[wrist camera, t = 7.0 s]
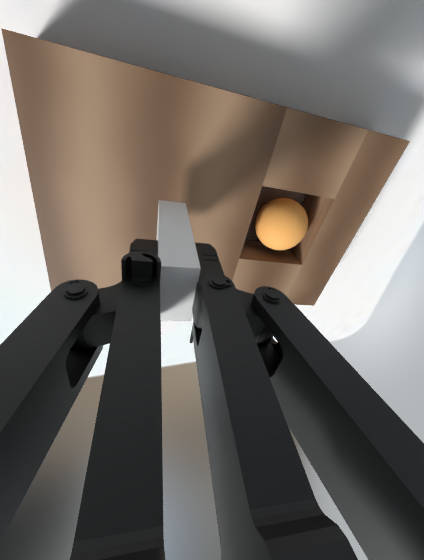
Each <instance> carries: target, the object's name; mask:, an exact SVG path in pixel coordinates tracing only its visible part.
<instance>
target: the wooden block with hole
mask: <svg viewBox="0 0 424 560" xmlns="http://www.w3.org/2000/svg"><path fill="white" fill-rule="evenodd" d="M1 29H2V28H1ZM2 34H3V39H4V44H5V50H6V55H7V60H8V66H9V71H10V76H11V81H12V87H13V92H14V97H15V102H16V108H17V113H18V118H19V124H20V129H21V134H22V139H23V145H24V150H25V155H26V161H27V166H28V171H29V176H30V182H31V187H32V192H33V197H34V203H35V208H36V213H37V219H38V224H39V229H40V234H41V240H42V245H43V250H44V255H45V261H46V266H47V271H48V277H49V282H50V287H51V292H52V291H53V289H54V288H56V287H57V286H58V285H60V284H61V283H64V282H66V281H70V280H76V279H80V280H88V281H91V282H93V283H94V284H96V285H97V287H98V289H99V288H105V287H109V286H113V285H115V284H118V283H119V282H121V281H122V269H121V259H122V258H123V256H125V255H126V254H128V253H129V251H130V245H131V243H132V242H133V241H134V240H135V239H148V240H156V238H157V221H158V204H159V200H162V201H171V202H179V203H186V207H187V211H188V216H189V220H190V224H191V229H192V233H193V237H194V242H195V243H207V244H211V245H212V246H213V247H214V248H215V249H216V252H217V255H218V258H219V261H220V263H221V266H222V269H223V272H224V275H225V276H226V277H228V278H229V279H231V280H232V281H233V283H234V285H235V287H236V289H238V290H241V291H244V292H248V293H252V294H254V292H255V290H256V289H257V288H259V287H262V286H269V287H273V288H276V289H278V290H280V291H281V292H282V293H284V294H285V295H286V296H287V297H288V298H289V299H290V301H291V302H292V303H293V304H297V305H314V304H315V303H316V301H317V299H318V297H319V296H320V294H321V292H322V291H323V289H324V287H325V285H326V284H327V282H328V280H329V279H330V277H331V275H332V274H333V272H334V270H335V268H336V267H337V265H338V263H339V262H340V260H341V258H342V256H343V255H344V253H345V251H346V250H347V248H348V246H349V244H350V243H351V241H352V239H353V238H354V236H355V234H356V232H357V231H358V229H359V227H360V226H361V224H362V222H363V220H364V219H365V217H366V215H367V214H368V212H369V210H370V208H371V207H372V205H373V203H374V202H375V200H376V198H377V197H378V195H379V193H380V191H381V190H382V188H383V186H384V185H385V183H386V181H387V179H388V178H389V176H390V174H391V173H392V171H393V169H394V167H395V166H396V164H397V162H398V161H399V159H400V157H401V155H402V154H403V152H404V150H405V149H406V147H407V145H408V143H409V142H410V141H407V140H403V139H400V138H396V137H393V136H389V135H385V134H382V133H378V132H374V131H371V130H367V129H364V128H360V127H356V126H353V125H349V124H346V123H342V122H338V121H335V120H331V119H327V118H324V117H320V116H317V115H313V114H309V113H306V112H302V111H298V110H295V109H291V108H288V107H284V106H280V105H277V104H273V103H269V102H266V101H262V100H259V99H255V98H251V97H248V96H244V95H241V94H237V93H233V92H230V91H226V90H222V89H219V88H215V87H212V86H208V85H204V84H201V83H197V82H193V81H190V80H186V79H183V78H179V77H175V76H172V75H168V74H164V73H161V72H157V71H154V70H150V69H146V68H143V67H139V66H135V65H132V64H128V63H125V62H121V61H117V60H114V59H110V58H107V57H103V56H99V55H96V54H92V53H88V52H85V51H81V50H78V49H74V48H70V47H67V46H63V45H59V44H56V43H52V42H49V41H45V40H41V39H38V38H34V37H30V36H27V35H23V34H20V33H16V32H12V31H9V30H5V29H2ZM262 186H265V187H271V188H276V189H282V190H287V191H293V192H298V193H304V194H306V197H305V199H304V201H303V204H302V207H303V208H304V210H305V211H306V214H307V217H308V228H307V232H306V234H305V236H304V238H303V239H302V240H301V241H300V242H299V243H298V244H297V245H296V246H294V247H292V248H289V249H286V250H274V249H271V248H269V247H267V246H265V245H264V244H263V243H262V242H261V241H255V240H247V239H246V236H247V233H248V230H249V226H250V223H251V220H252V217H253V214H254V211H255V208H256V204H257V201H258V198H259V195H260V192H261V189H262Z"/></svg>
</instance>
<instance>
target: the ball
mask: <svg viewBox="0 0 424 560" xmlns="http://www.w3.org/2000/svg"><path fill="white" fill-rule="evenodd" d="M307 228H308V217H307V214H306V211H305V210H304V208H303V207H302V205H300V204H299V203H298V202H297V201H295V200H293V199H289V198H277V199H273V200H271V201H269V202H268V203H266V204H265V205H264V206H263V207H262V208H261V209H260V211H259V212H258V214H257V217H256V221H255V230H256V234H257V236H258V238H259V240H260V241H261V242H262V243H263V244H264V245H265V246H267V247H269V248H271V249H274V250H286V249H289V248H292V247H294V246H296V245H297V244H298V243H299V242H300V241H301V240H302V239H303V238H304V236H305V234H306V232H307Z"/></svg>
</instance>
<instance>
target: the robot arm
mask: <svg viewBox="0 0 424 560" xmlns="http://www.w3.org/2000/svg"><path fill="white" fill-rule="evenodd" d="M121 269H122V281H121V282H119V283H118V284H115V285H113V286H109V287H105V288H99V289H98V287H97V285H96V284H94V283H93V282H91V281H88V280H80V279H76V280H70V281H66V282H64V283H61V284H60V285H58V286H57V287H56V288H54V289H53V291H52V292H51V293H50V294H49V295H48V296H47V297H46V298H45V299H44V300H43V301H42V302H41V303H40V304H39V305H38V306H37V307H36V308H35V309H34V310H33V311H32V312H31V313H30V315H29V316H28V317H27V318H26V319H25V320H24V321H23V322H22V323H21V324H20V325H19V326H18V327H17V328H16V329H15V330H14V331H13V332H12V333H11V334H10V335H9V336H8V338H7V339H6V340H5V341H4V342H3V343H2V344H1V345H0V541H1V539H2V538H3V536H4V534H5V532H6V530H7V528H8V526H9V524H10V522H11V520H12V518H13V517H14V515H15V513H16V511H17V509H18V507H19V505H20V504H21V502H22V500H23V498H24V496H25V494H26V492H27V490H28V488H29V486H30V485H31V483H32V481H33V479H34V477H35V475H36V473H37V471H38V470H39V468H40V466H41V464H42V462H43V460H44V458H45V456H46V454H47V453H48V451H49V449H50V447H51V445H52V443H53V441H54V439H55V437H56V436H57V434H58V432H59V430H60V428H61V426H62V424H63V422H64V420H65V418H66V417H67V415H68V413H69V411H70V409H71V407H72V405H73V403H74V402H75V400H76V398H77V396H78V394H79V392H80V390H81V388H82V386H83V385H84V383H85V381H86V379H87V377H88V375H89V373H90V371H91V369H92V367H93V366H94V364H95V362H96V360H97V358H98V356H99V354H100V352H101V350H102V349H103V345H105V344H109V343H110V347H109V352H108V358H107V363H106V369H105V374H104V381H103V385H102V391H101V396H100V402H99V407H98V412H97V418H96V423H95V429H94V435H93V440H92V446H91V451H90V456H89V462H88V467H87V473H86V478H85V483H84V489H83V494H82V500H81V505H80V511H79V517H78V522H77V527H76V532H75V538H74V543H73V548H72V553H71V557H70V560H165V552H164V539H163V485H162V484H163V482H162V481H163V480H162V479H163V477H162V402H161V399H162V398H161V321H191V318H192V313H193V319H194V322H193V327H192V332H191V337H190V343H192V342H193V341H194V349H195V356H196V364H197V371H198V379H199V386H200V394H201V401H202V409H203V416H204V424H205V431H206V438H207V446H208V454H209V461H210V469H211V476H212V484H213V491H214V498H215V505H216V514H217V521H218V529H219V536H220V545H221V560H358V559H357V557H356V555H355V553H354V551H353V549H352V547H351V545H350V543H349V541H348V539H347V537H346V536H345V535H344V533H343V532H342V531H341V529H340V528H339V526H338V525H337V524H336V523H334V522H333V521H332V520H331V519H329V518H328V517H327V516H326V515H325V514H324V513H323V512H322V510H321V509H320V507H319V505H318V503H317V501H316V499H315V497H314V494H313V491H312V489H311V486H310V483H309V481H308V478H307V475H306V473H305V470H304V468H303V465H302V462H301V460H300V457H299V454H298V451H297V449H296V446H295V444H294V441H293V438H292V436H291V433H290V430H291V431H292V433H293V435H294V436H295V438H296V440H297V441H298V443H299V445H300V446H301V448H302V450H303V451H304V453H305V455H306V456H307V458H308V460H309V461H310V463H311V465H312V466H313V468H314V469H315V471H316V473H317V475H318V476H319V478H320V480H321V481H322V483H323V485H324V486H325V488H326V490H327V491H328V493H329V495H330V496H331V498H332V500H333V501H334V503H335V505H336V506H337V508H338V510H339V511H340V513H341V515H342V516H343V518H344V519H345V521H346V523H347V524H348V526H349V528H350V530H351V531H352V533H353V535H354V536H355V538H356V540H357V541H358V543H359V545H360V546H361V548H362V549H363V551H364V553H365V554H366V556H367V558H368V560H424V443H423V442H422V441H421V440H420V439H419V438H418V437H417V436H416V435H415V434H414V433H413V432H412V430H411V429H410V428H409V427H408V426H407V425H406V424H405V423H404V422H403V421H402V420H401V419H400V418H399V417H398V415H397V414H396V413H395V412H394V411H393V410H392V409H391V408H390V407H389V406H388V405H387V404H386V403H385V402H384V401H383V399H382V398H381V397H380V396H379V395H378V394H377V393H376V392H375V391H374V390H373V389H372V388H371V386H370V385H369V384H368V383H367V382H366V381H365V380H364V379H363V378H362V377H361V376H360V375H359V374H358V372H357V371H356V370H355V369H354V368H353V367H352V366H351V365H350V364H349V363H348V362H347V361H346V360H345V359H344V358H343V356H342V355H341V354H340V353H339V352H338V351H337V350H336V349H335V348H334V347H333V346H332V345H331V344H330V342H329V341H328V340H327V339H326V338H325V337H324V336H323V335H322V334H321V333H320V332H319V331H318V330H317V328H316V327H315V326H314V325H313V324H312V323H311V322H310V321H309V320H308V319H307V318H306V317H305V316H304V315H303V313H302V312H301V311H300V310H299V309H298V308H297V307H296V306H295V305H294V304H293V303H292V302H291V301H290V299H289V298H288V297H287V296H286V295H285V294H284V293H282V292H281V291H280V290H278V289H276V288H273V287H269V286H262V287H259V288H257V289H256V290H255V292H254V294H252V293H248V292H244V291H241V290H238V289H236V287H235V285H234V283H233V281H232V280H231V279H229V278H228V277H226V276H225V275H224V272H223V269H222V266H221V263H220V261H219V258H218V255H217V252H216V249H215V248H214V247H213V246H212V245H211V244H207V243H195V242H194V237H193V233H192V229H191V224H190V220H189V216H188V211H187V207H186V203H179V202H171V201H162V200H159V204H158V221H157V238H156V240H148V239H135V240H134V241H133V242H132V243H131V245H130V251H129V253H128V254H126V255H125V256H123V258H122V259H121ZM273 336H274V337H275V338H276V340H277V341H278V342H276V341H275V340H274V339H273V338H272V337H273ZM288 426H289V428H290V430H289V428H288Z"/></svg>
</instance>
